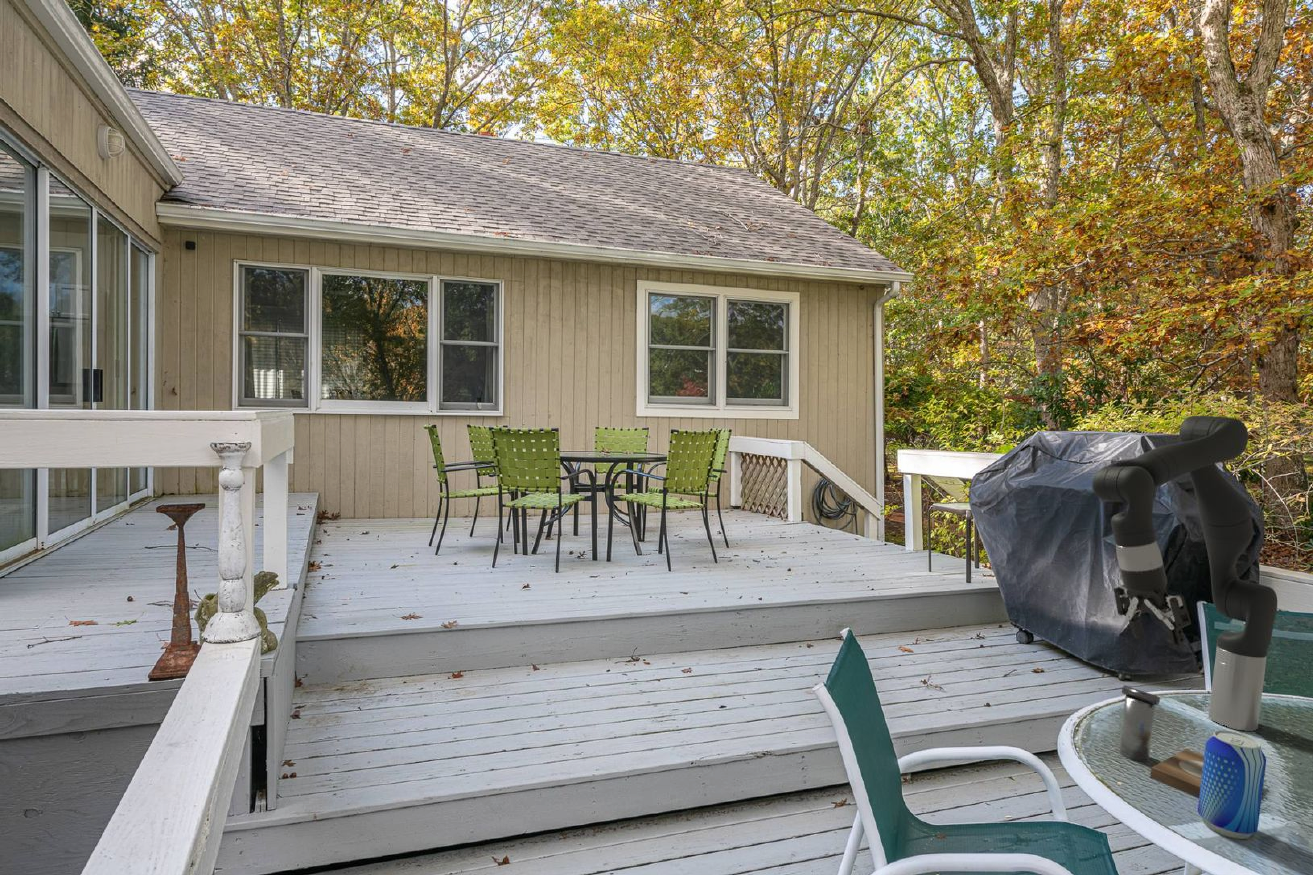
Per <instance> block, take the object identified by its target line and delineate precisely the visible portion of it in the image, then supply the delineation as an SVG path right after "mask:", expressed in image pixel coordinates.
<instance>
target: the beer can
mask: <svg viewBox="0 0 1313 875" xmlns="http://www.w3.org/2000/svg"><path fill="white" fill-rule="evenodd" d="M1203 755H1204V763H1203V771H1202V779H1201V787H1200V796H1199V798H1198V805H1197V813H1198V815H1199V817H1200V818H1201V821H1202V822H1203V824H1204V825H1205V826H1207V828H1209V829H1210V828H1211V829H1210V830H1211V831H1212V830H1213V831H1214V832H1216V833H1217V834H1221V835H1222V836H1225V837H1228V838H1234V839H1238V840H1239V839H1240V840H1245V839H1250V838H1251V837H1252V836H1253V835H1254V834H1256V833H1257V832H1258V830H1259V824H1260V823H1259V822H1260V821H1259V820H1260V814H1261V807H1262V806H1261V805H1262V796H1263V791H1264V782H1265V774H1266V767H1267V757H1266V756H1265V754H1264V751H1263V750H1262V744H1261V743H1260V741H1258V740H1257V739H1256V738H1254V737H1251V736H1249V735H1246V734H1244V733H1240V732H1238V731H1232V730H1226V729H1217V730H1215V731H1214V732H1213V735H1212V736H1211V737H1210V738H1209V739H1208V740H1207V741H1206V742H1205V746H1204V754H1203Z"/></svg>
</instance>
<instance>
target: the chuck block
mask: <svg viewBox="0 0 1313 875" xmlns="http://www.w3.org/2000/svg"><path fill="white" fill-rule="evenodd" d="M1203 763H1204V754H1202V753H1199V752H1196V751H1194V750H1191V749H1188V748H1185V749H1183V750H1181V751H1179V752H1177V753H1175V754H1174V755H1173V756H1170V757H1169V758H1166V759H1165V760H1163V761H1160V762H1159V763H1157V764H1155V765H1154V766H1152V767H1150V776H1149V778H1151V779H1153V780H1156V781H1158V782H1161V783H1163V784H1165V785H1167V786H1170V787H1171V788H1172V787H1173V788H1174V789H1177V790H1180V791H1182V792H1184V793H1187V794H1189V795H1191V796H1194V797H1196V798H1198V799H1199V796H1200V787H1201V779H1202V771H1203Z"/></svg>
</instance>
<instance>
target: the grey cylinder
mask: <svg viewBox="0 0 1313 875" xmlns="http://www.w3.org/2000/svg"><path fill="white" fill-rule="evenodd" d="M1121 693H1122V694H1123V695H1125V697H1124V704H1123V705H1124V707H1123V712H1122V713H1123V714H1122V715H1123V716H1122V722H1121V723H1122V725H1121V733H1120V741H1119V743H1120V744H1119V751H1118V752H1119V754H1120V755H1121V756H1122V757H1123V758H1126V759H1128V760H1130V761H1133V762H1138V763H1139V762H1140V763H1146V762H1149V760H1150V751H1151V744H1152V743H1151V742H1152V733H1153V725H1154V724H1153V723H1154V716H1155V708H1156V706H1158V705H1159V703H1160V700H1161V698H1160V696H1158V695H1155V694H1152V693H1149V692H1146V691H1143V690H1141V689H1137V688H1133V687H1130V686H1128V685H1125V684H1124V685H1123V686H1122V689H1121Z"/></svg>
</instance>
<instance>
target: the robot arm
mask: <svg viewBox="0 0 1313 875" xmlns="http://www.w3.org/2000/svg"><path fill="white" fill-rule="evenodd" d="M1178 436H1179V437H1178V438H1179V442H1176V443H1171V444H1166V445H1160V446H1159V447H1156V448H1153V449H1151V450H1148V451H1147V452H1144V453H1142V454H1140V455H1138V456H1137V457H1135V458H1130V459H1126V460H1122V461H1118V462H1115V463H1112V464H1108V465H1105V466H1104V467H1102V468H1101V469H1099V470H1098V471H1097V472H1096V473H1095V474H1094V475H1093V478H1092V481H1091V487H1092V491H1093V493H1094V494H1095V496H1097V498H1099V499H1100V500H1102V501H1105V502H1111V503H1114V502H1115V503H1118V502H1119V503H1127V504H1128V508H1127V510H1126V511H1122V512H1118V513H1117V514H1114V515H1113V516H1112V517H1111V522H1110V524H1111V529H1112V534H1113V538H1114V542H1115V548H1116V551H1115V552H1116V557H1117V562H1118V565H1119V571H1120V574H1121V579H1122V583H1123V584H1122V585H1119V586H1117V587H1114V588H1113V593H1114V599H1115V602H1116V603H1115V605H1116V611H1117V613H1118V615H1119V616H1124V617H1125V618H1126V619H1127V620H1128V623H1129V627H1130V631H1131V633H1132V635H1133V637H1134V638H1138V639H1139V638H1141V637H1143V636H1145V634H1146V633H1145V629H1144V625H1143V620H1142V617H1140V616H1141V613H1145V614H1146V613H1148V614H1150V615H1154V616H1156V617H1157V618H1158V620H1160V621H1163V623H1164V624H1165V625H1166V626H1167V627H1168V632H1169V638H1170V643H1171V646H1172V647H1175V648H1179V647H1181V646H1184V644H1185V641H1186V640H1185V636H1184V631H1183V628H1186V627H1187V626H1190V625H1191V624H1192V620H1191V618H1190V613H1189V610H1188V607H1187V603H1186V601H1185V597H1184V595H1183V594H1178V595H1170V594H1169V593H1168V591H1167V584H1168V578H1167V575H1166V571H1165V565H1164V561H1163V557H1162V552H1161V548H1160V547H1159V544H1158V542H1157V538H1156V533H1155V529H1154V525H1153V511H1154V510H1153V509H1154V508H1153V507H1154V506H1153V505H1154V498H1155V488H1158V487H1161V486H1163V485H1164V484H1167V483H1168V482H1171V481H1172V480H1174V479H1176V478H1178V477H1181V476H1182V475H1185V474H1187V473H1188V474H1189V477H1190V479H1191V483H1192V486H1193V490H1194V494H1195V498H1196V503H1197V510H1198V516H1199V520H1200V525H1201V529H1202V534H1203V539H1204V542H1205V547H1206V551H1207V557H1208V563H1209V571H1210V582H1211V584H1210V586H1211V595H1212V601H1213V605H1214V607H1215V610H1216V611H1217V612H1218V613H1219V614H1220V615H1222V616H1224V617H1226V618H1229V619H1232V620H1236V621H1240V622H1243V623H1245V624H1244V629H1243V631H1233V632H1232V631H1228V632H1227V631H1226V632H1222V633H1220V634H1218V636H1217V642H1216V651H1215V659H1214V660H1215V661H1214V668H1213V675H1212V676H1213V677H1212V684H1211V692H1210V699H1209V707H1208V708H1209V709H1208V718H1209V717H1210V718H1211V719H1210V718H1209V719H1210V720H1211V721H1212V722H1214V721H1215V722H1214V723H1216V722H1217V723H1216V724H1218V723H1219V724H1218V725H1221V726H1223V725H1225V726H1224V727H1226V726H1227V728H1230V729H1234V730H1238V731H1243V730H1244V732H1255V731H1257V730H1258V728H1259V721H1260V713H1261V706H1262V705H1261V704H1262V697H1263V691H1264V690H1263V689H1264V680H1265V673H1266V664H1267V656H1268V650H1269V648H1270V644H1271V641H1272V636H1273V630H1274V625H1275V619H1276V615H1277V612H1278V611H1277V610H1278V609H1277V608H1278V596H1277V593H1276V591H1275V590H1274V589H1273V588H1272V587H1269V586H1267V585H1264V584H1259V583H1256V582H1251V581H1248V580H1242V579H1240V578H1239V576H1238V573H1237V567H1236V565H1237V561H1238V559H1239V558H1240V556H1241V555H1242V554H1243V553H1244V551H1246V549H1247V548H1248V546H1249V545H1250V544H1251V541H1252V540H1253V536H1254V526H1253V521H1252V515H1251V511H1250V507H1249V505H1248V503H1247V502H1246V500H1245V499H1244V498H1243V496H1242V495H1241V494H1240V493H1239V491H1237V489H1235V488H1234V486H1232V485H1231V483H1229V481H1228V480H1226V478H1225V477H1224V476H1223V475H1222V474H1221V472H1220V470H1219V469H1218V466H1217V465H1216V464H1218V463H1223V462H1228V461H1230V460H1231V461H1232V460H1234V459H1236V458H1238V457H1240V456H1242V454H1243V452H1244V451H1245V450H1246V448H1247V447H1248V446H1247V445H1248V442H1249V431H1248V428H1247V426H1246V424H1245V422H1243V421H1241V420H1240V419H1237V418H1234V417H1228V416H1210V415H1191V416H1190V415H1189V416H1188V417H1186V418H1184V420H1182V422H1181V424H1180V427H1179V434H1178ZM1164 611H1166V612H1164ZM1256 729H1257V730H1256ZM1254 730H1255V731H1254Z"/></svg>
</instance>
